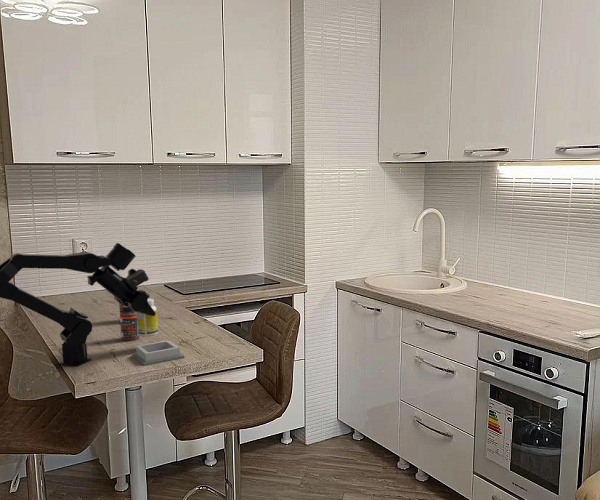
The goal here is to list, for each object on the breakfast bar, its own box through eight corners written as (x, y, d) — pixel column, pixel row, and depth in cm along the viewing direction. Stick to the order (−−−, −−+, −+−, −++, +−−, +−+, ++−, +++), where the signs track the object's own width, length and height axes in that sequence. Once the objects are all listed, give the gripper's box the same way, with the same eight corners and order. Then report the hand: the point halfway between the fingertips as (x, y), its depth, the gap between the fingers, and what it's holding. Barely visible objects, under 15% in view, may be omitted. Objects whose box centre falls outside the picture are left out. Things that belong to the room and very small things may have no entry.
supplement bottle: (121, 342, 190) (118, 308, 189) (121, 337, 196) (119, 304, 194) (140, 340, 192) (137, 306, 190) (139, 335, 197) (137, 303, 196)
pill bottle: (160, 331, 184) (158, 297, 183) (156, 336, 178) (153, 301, 177) (140, 332, 184) (138, 298, 183) (135, 337, 178) (133, 302, 177)
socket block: (144, 365, 164) (143, 355, 164) (132, 355, 174) (131, 345, 174) (184, 357, 170) (183, 347, 170) (170, 348, 180) (170, 339, 180)
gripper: (140, 265, 168) (178, 297, 176) (121, 259, 184) (157, 288, 191) (115, 295, 165) (155, 326, 172) (98, 286, 181) (135, 315, 188)
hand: (151, 313), depth 181 cm, fingers closed on pill bottle, 6 cm apart
